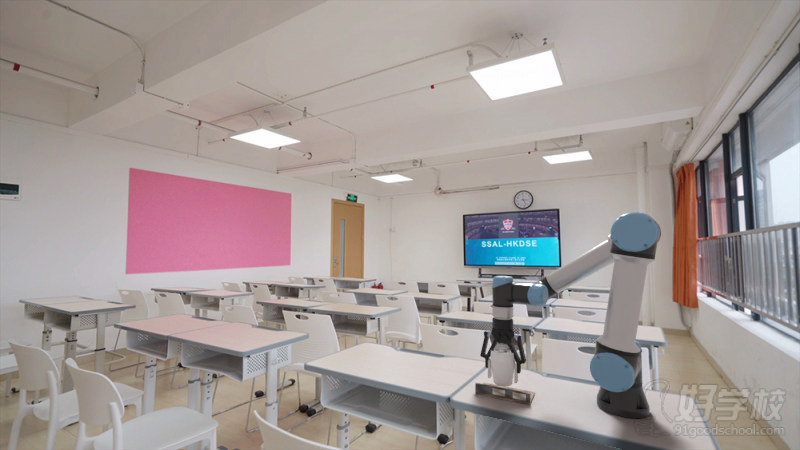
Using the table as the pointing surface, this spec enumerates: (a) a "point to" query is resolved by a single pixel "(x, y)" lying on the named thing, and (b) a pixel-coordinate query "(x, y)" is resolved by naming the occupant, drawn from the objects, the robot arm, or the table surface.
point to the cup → (502, 366)
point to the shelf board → (504, 393)
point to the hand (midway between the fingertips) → (502, 379)
